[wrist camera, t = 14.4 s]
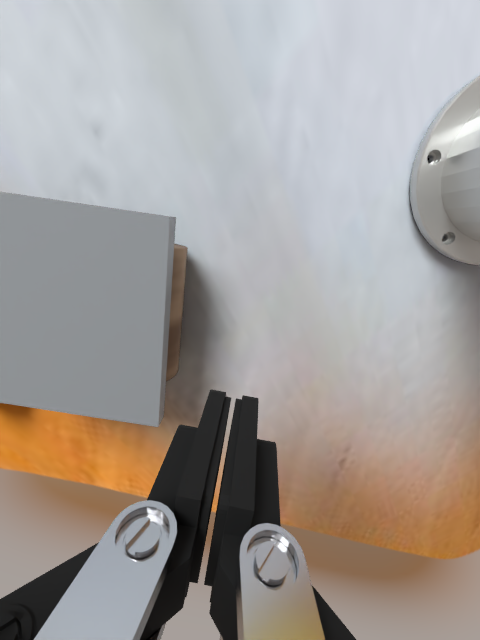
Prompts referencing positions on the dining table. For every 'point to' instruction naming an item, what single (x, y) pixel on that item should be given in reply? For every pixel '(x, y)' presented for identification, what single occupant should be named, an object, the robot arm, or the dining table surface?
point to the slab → (84, 308)
